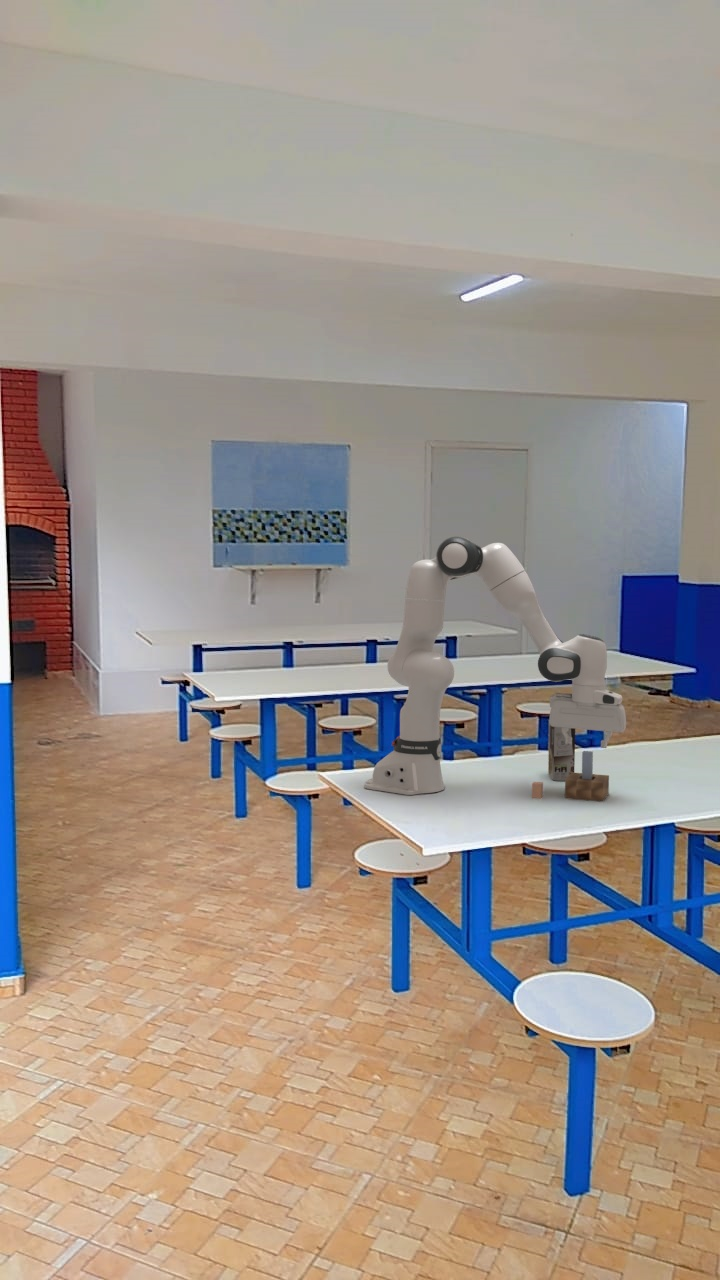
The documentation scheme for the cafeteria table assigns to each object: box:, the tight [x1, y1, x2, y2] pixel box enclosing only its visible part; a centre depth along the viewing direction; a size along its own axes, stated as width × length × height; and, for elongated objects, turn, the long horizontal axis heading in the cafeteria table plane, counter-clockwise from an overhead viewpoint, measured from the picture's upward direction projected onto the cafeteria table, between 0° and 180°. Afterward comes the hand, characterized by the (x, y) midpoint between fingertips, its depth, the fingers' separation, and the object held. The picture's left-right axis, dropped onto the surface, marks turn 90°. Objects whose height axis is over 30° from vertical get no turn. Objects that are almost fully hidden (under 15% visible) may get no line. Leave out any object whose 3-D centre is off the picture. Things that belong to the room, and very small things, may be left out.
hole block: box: [564, 772, 610, 803], centre depth 273 cm, size 10×10×5 cm
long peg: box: [581, 750, 594, 780], centre depth 273 cm, size 2×2×12 cm
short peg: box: [531, 781, 544, 800], centre depth 271 cm, size 2×2×4 cm
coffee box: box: [547, 722, 576, 782], centre depth 295 cm, size 9×6×16 cm
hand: (586, 745), depth 272 cm, fingers open, 8 cm apart
